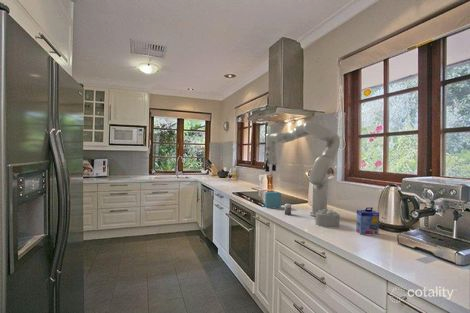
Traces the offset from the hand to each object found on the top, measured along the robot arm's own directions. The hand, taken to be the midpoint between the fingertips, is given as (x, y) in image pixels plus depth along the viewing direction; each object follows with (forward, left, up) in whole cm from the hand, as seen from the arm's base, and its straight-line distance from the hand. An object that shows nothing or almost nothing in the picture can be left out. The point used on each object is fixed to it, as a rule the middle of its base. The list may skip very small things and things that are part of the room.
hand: (270, 171), depth 186 cm
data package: (-1, -3, -29) cm, 29 cm away
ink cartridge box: (-71, +17, -29) cm, 78 cm away
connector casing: (-20, +9, -29) cm, 36 cm away
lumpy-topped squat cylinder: (-49, +16, -29) cm, 59 cm away
